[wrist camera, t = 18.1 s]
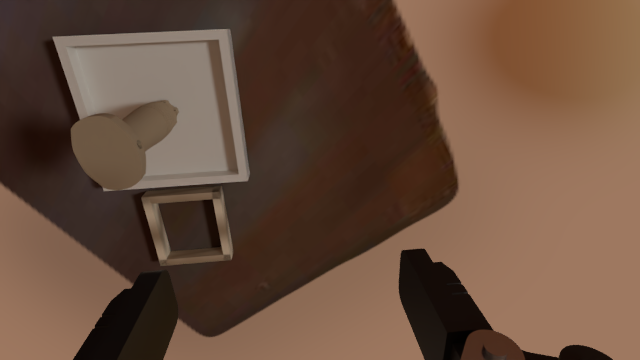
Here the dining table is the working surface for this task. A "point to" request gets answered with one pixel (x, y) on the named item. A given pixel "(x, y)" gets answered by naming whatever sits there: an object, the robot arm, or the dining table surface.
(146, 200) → the wooden square frame
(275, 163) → the dining table surface
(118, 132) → the handle
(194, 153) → the tray
